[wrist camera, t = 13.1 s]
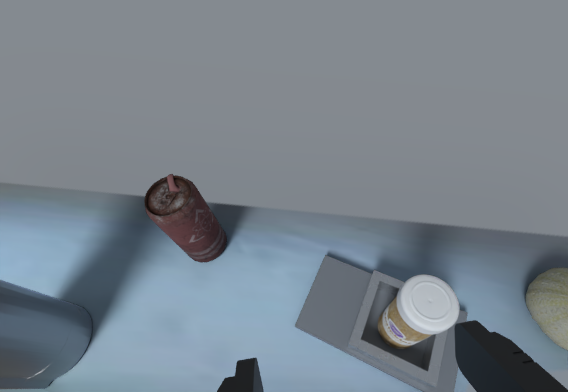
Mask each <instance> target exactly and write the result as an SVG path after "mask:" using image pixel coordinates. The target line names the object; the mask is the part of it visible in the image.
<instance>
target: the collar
mask: <svg viewBox="0 0 568 392" xmlns="http://www.w3.org/2000/svg"><path fill="white" fill-rule="evenodd" d="M404 283H405V282H403V281H400V280H398V279H395V278H393V277H390V276H388V275H385V274H383V273H380V272H378V271H376V270H374V271H373V273H372V276H371V278H370V281H369V284H368V287H367V290H366V293H365V296H364V299H363V301H362V304H361V307H360V310H359V313H358V316H357V319H356V322H355V325H354V328H353V331H352V334H351V336H350V339H349V342H348V345H347V347H348V348H350V349H352V350H354V351H356V352H358V353H360V354H362V355H364V356H366V357H368V358H370V359H372V360H374V361H376V362H378V363H380V364H382V365H384V366H386V367H388V368H390V369H392V370H394V371H396V372H398V373H400V374H402V375H404V376H406V377H408V378H410V379H412V380H414V381H416V382H418V383H420V384H422V385H424V386H426V387H436V386H437V381H438V376H439V371H440V366H441V361H442V356H443V351H444V346H445V341H446V336H447V331H448V329H447V330H445V331H443V332H441V333H439V334H433V335H431V336H430V337H428V340H427V344H426V348H425V353H424V357H423V362H422V366H421V368H419V367H417V366H415V365H413V364H411V363H409V362H407V361H405V360H403V359H401V358H399V357H397V356H395V355H392V354H390V353H388V352H386V351H384V350H382V349H380V348H378V347H376V346H374V345H372V344H370V343H368V342H366V341H364V340H361V337H362V334H363V330H364V327H365V324H366V321H367V318H368V315H369V312H370V309H371V306H372V303H373V300H374V297H375V294H376V291H377V288H378V289H380V290H383V291H385V292H388V293H390V294H392V295H395V296H397V294H398V291H399V289H400V288H401V287H402V285H403V284H404Z"/></svg>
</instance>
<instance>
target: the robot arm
mask: <svg viewBox="0 0 568 392" xmlns="http://www.w3.org/2000/svg"><path fill="white" fill-rule="evenodd" d="M454 330H455V357H456V361H457V364H458V367H459V369H460V370H461V372H462V374H463V375H464V376H465V378H466V379H467V380H468V381H469V383H470V384H471V385H472V386H473V388H474V389H475V390H476V391H477V392H568V390H567V389H566V388H565V387H564V386H563V385H561V384H560V383H559V382H558V381H557V380H556V379H555V378H553V377H552V376H551V375H550V374H549V373H548V372H547V371H545V370H544V369H543V368H542V367H541V366H540V365H539V364H537V363H536V362H534V361H533V359H532V358H531V357H529V356H528V355H527V354H526V353H524V352H523V350H521V349H520V348H519V347H518V346H517V345H516V344H515V343H513V342H512V341H511V340H510V339H508V338H506V337H504V336H502V335H500V334H498V333H496V332H491V333H490V332H489V331H488V330H487V329H486V328H485V327H484V326H483V325H481V324H480V323H479V322H478V321H475V320H474V321H468V322H463V323H457V324H455V328H454ZM91 333H92V321H91V318H90V315H89V314H88V312H87V311H86V310H85V309H84V308H82V307H80V306H78V305H75V304H73V303H70V302H67V301H63V300H60V299H57V298H54V297H51V296H48V295H45V294H42V293H39V292H36V291H33V290H30V289H27V288H24V287H20V286H17V285H14V284H11V283H8V282H5V281H2V280H0V389H45V388H47V387H48V385H49V384H50V383H51V382H52V381H53V380H54V379H56V378H57V377H59V376H61V375H63V374H65V373H66V372H67V371H69V370H70V369H71V368H72V367H73V366H74V365H75V364H76V363H77V362H78V361H79V359H80V358H81V357H82V355H83V354H84V352H85V350H86V348H87V346H88V344H89V341H90V338H91ZM217 392H264V391H263V386H262V381H261V376H260V372H259V367H258V362H257V359H256V358H251V359H245V360H239V361H237V366H236V373H235V376H234V377H228V378H225V379H224V381H223V382H222V384H221V386H220V387H219V389H218V390H217Z"/></svg>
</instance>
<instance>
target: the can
mask: <svg viewBox="0 0 568 392" xmlns="http://www.w3.org/2000/svg"><path fill="white" fill-rule="evenodd" d="M144 202H145V208H146V213H147V214H148V216H149V218H150V219H152V220H153V221H154V222H155V223H156V224H157V225H158V226H159V227H160V228H161V229H162V230H163V231H164V232H165V233H166V234H167V235H168V236H169V237H170V238H171V239H172V240H173V241H174V242H175V243H176V244H177V245H178V246H179V247H180V248H181V249H182V250H183V251H184V252H186V253H187V254H188V255H189V256H190V257H191V258H192V259H193V260H195V261H198V262H209V261H212V260H214V259H215V258H217V257H218V256H220V254H221V253H222V252H223V251H224V249H225V246H226V242H227V237H226V234H225V232H224V230H223V229H222V227H221V225H220V224H219V222H218V221H217V219H216V218H215V216H214V214H213V213H212V211H211V210H210V208H209V207H208V205H207V204H206V202H205V200H204V199H203V197H202V196H201V194H200V193H199V191H198V189H197V188H196V187H195V185H194V184H193V182H191V181H189V180H188V179H185V178H183V177H181V176H174V175H173V174H170V175H168V176H167V177H165V178H162V179H160V180H159V181H157V182H156V183H154V184H153V185H152V186H151V187H150V189H149V190H148V191H147V193H146V196H145V200H144Z"/></svg>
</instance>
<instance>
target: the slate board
mask: <svg viewBox="0 0 568 392" xmlns="http://www.w3.org/2000/svg"><path fill="white" fill-rule="evenodd" d="M371 276H372V274H371V273H368V272H366V271H363V270H361V269H358V268H356V267H354V266H351V265H349V264H346V263H344V262H341V261H339V260H336V259H334V258H331V257H329V256H327V255H325V257H324V259H323V262H322V264H321V266H320V269H319V271H318V273H317V276H316V278H315V280H314V283H313V285H312V287H311V289H310V292H309V294H308V296H307V299H306V301H305V303H304V306H303V308H302V310H301V313H300V315H299V317H298V320H297V322H296V324H295V327H296V328H298V329H300V330H302V331H304V332H306V333H308V334H310V335H312V336H314V337H316V338H318V339H320V340H322V341H324V342H326V343H328V344H330V345H332V346H334V347H336V348H338V349H340V350H342V351H344V352H346V353H348V354H349V355H351V356H353V357H355V358H357V359H359V360H361V361H363V362H365V363H367V364H369V365H371V366H373V367H375V368H377V369H379V370H381V371H383V372H385V373H387V374H389V375H391V376H393V377H395V378H397V379H399V380H401V381H403V382H405V383H407V384H409V385H411V386H413V387H415V388H417V389H419V390H421V391H423V392H454V388H455V382H456V376H457V371H458V364H457V361H456V357H455V330H454V328H455V324H457V323H463V322H466V319H467V312H464V311H462V310H459V316H458V319H457V321H456V322H455V324H454V325H453V326H451V327H450V328H449V329H448V331H447V336H446V341H445V346H444V351H443V356H442V361H441V366H440V371H439V376H438V381H437V386H436V387H426V386H424V385H422V384H420V383H418V382H416V381H414V380H412V379H410V378H408V377H406V376H404V375H402V374H400V373H398V372H396V371H394V370H392V369H390V368H388V367H386V366H384V365H382V364H380V363H378V362H376V361H374V360H372V359H370V358H368V357H366V356H364V355H362V354H360V353H358V352H356V351H354V350H352V349H350V348H348V347H347V345H348V342H349V339H350V336H351V334H352V331H353V328H354V325H355V322H356V319H357V316H358V313H359V310H360V307H361V304H362V301H363V299H364V296H365V293H366V290H367V287H368V284H369V281H370V278H371ZM395 297H396V296H395V295H392V294H390V293H388V292H385V291H383V290H380V289H378V288H377V291H376V294H375V297H374V300H373V303H372V306H371V309H370V312H369V315H368V318H367V321H366V324H365V327H364V330H363V334H362V337H361V340H364V341H366V342H368V343H370V344H372V345H374V346H376V347H378V348H380V349H382V350H384V351H386V352H388V353H390V354H392V355H395V356H397V357H399V358H401V359H403V360H405V361H407V362H409V363H411V364H413V365H415V366H417V367H419V368H421V366H422V362H423V357H424V353H425V348H426V344H427V340H428V338H426V339H424V340H422V341H420V342H418V343H416V344H414V345H412V346H411V347H409V348H406V349H396V348H393V347H391V346H389V345H388V344H386V343H385V342H384V340H383V339H382V338H381V336H380V333H379V331H378V320H379V317H380V315H381V314H382V313H383V312H384V311H385V309H386V308H387V307H388V305H389V304H391V302H392V301H393V300H394V298H395Z"/></svg>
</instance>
